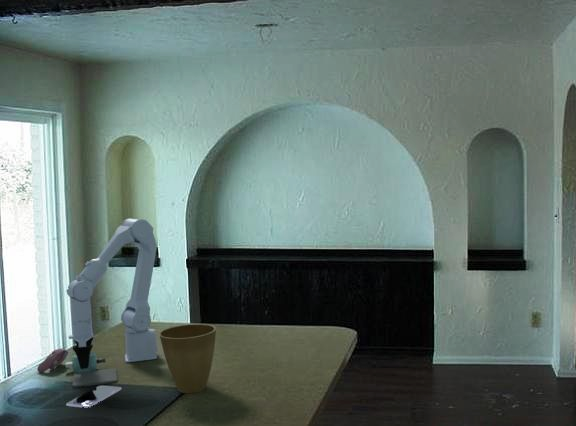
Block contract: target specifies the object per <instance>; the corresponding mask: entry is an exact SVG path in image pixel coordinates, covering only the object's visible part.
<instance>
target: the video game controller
mask: <svg viewBox="0 0 576 426" xmlns="http://www.w3.org/2000/svg"><path fill="white" fill-rule="evenodd" d="M68 355H69V351H68V350H67V349H64V348H62V347H61V348H58V349H54V350H52V351H51V353H49V355H47V356H46V358H45V359H44V360H43V361H42V362H41V363H40V364H39V365H38V366H37V368H36V369H37V372H38V373H40V374H42V373H45V372H46V371H48V370H51V371H54V370H55V369H56V367H58V368H60V366H61V365H63V364H62V363H63V362H64V361H65V360H66V359H67V357H68Z"/></svg>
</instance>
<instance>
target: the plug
mask: <svg viewBox="0 0 576 426" xmlns="http://www.w3.org/2000/svg"><path fill="white" fill-rule="evenodd" d="M97 357H98V356H97V353H95V352H90V357H89V366H88V368H86V369H81V368H80V365H79V361H78V358H77V355H76V354H74V355H72V356H71V360H72V361H66V362H65V368H67V369H68V368H72V372H73V374H74V373H79V372H88V371H96V370H98V364H102V363H106V358H97Z"/></svg>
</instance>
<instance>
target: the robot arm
mask: <svg viewBox="0 0 576 426" xmlns="http://www.w3.org/2000/svg"><path fill="white" fill-rule="evenodd" d="M131 243H133V244H134V245H135V246H136V247H137V249H138V255H137V261H136V265H135V272H134V276H133V283H132V288H131V295H130V298H129V299H128V301H127V302H126V304H125V308H124V310H123V312H122V313H121V317H120V320H121V322H122V324H123V325H124V326H125V328H124V334H125V351H126V352H125V353H126V354H125V355H124V359H125V363H132V362H133V363H134V362H142V361H150V360H157V358H158V356H157V355H158V354H157V353H158V345H157V342H156V341H157V340H156V339H157V338H156V337H157V336H156V330H155V328H150V326H151V323H152V318H151V307H150V304H149V302H148V300H149V295H150V290H151V283H152V278H153V277H152V276H153V274H154V273H153V272H154V267H155V266H154V265H155V259H156V254H157V248H158V245H157V240H156V238H155V234H154V227H153V226H152V225H151V224H150V222H149V221H147V220H146V219H141V218H140V219H139V218H138V219H136V218H133V217H132V218H131V217H130V218H126V219H124V220H123V222H122V223H121V225H119V226H118V227H117V228H116V230H115V232H114V233H113V235H112V236H111V238H110V240H109V241H108V242H107V244H106V245H105V247H104V248H103V249H102V251H101V253H100V254H99V255H98V256H97V258H93V259H91V260H89V261H88V260H87V261H86V263H85V264H84V265H85V267H84V268H83V269H82V271H81V272H80V273H79V275H76V276H75V280H72V281H71V282H70V283H69V284H68V286H67V289H66V294H67V295H68V297H69V298H70V299H69V300H70V315H71V316H70V317H71V327H72V329H71V330H72V334H69V335H68V339H69V340H73V342H74V343H75V344H74V345H72V350H73V351H74V353H75V355H77V358H78V361H79V365H80V368H81V369H86V368H88V366H89V357H90V353H92V352H91V351H92V349H93V346H94V345H93V344H92V343H93V339H94V333H93V320H92V304H91V297H92V296H93V293H94V288H95V287H96V286H97V284H98V283H99V282H100V280H101V279H102V278H103V277H104V275H105V274H106V272H107V271H108V266H107V265H108V263H109V262H111V260H112V259H113V258H114V257H115V255H117V253H118V252H119V251H120V250H121V248H122V247H124V245H128V244H131Z"/></svg>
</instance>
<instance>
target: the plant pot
mask: <svg viewBox="0 0 576 426" xmlns="http://www.w3.org/2000/svg"><path fill="white" fill-rule="evenodd" d="M216 332H217V328H216V327H215V326H214V325H213V324H212V325H211V324H204V323H203V324H202V323H195V324H194V323H193V324H181V325H176V326H172V327H168V328H166V329H163V330H161V331H160V332H159V338H160V342H161V348H162V350H163V355H164V358H165V362H166V364H167V367H168V370H169V372H170V375H171V378H172V379H173V383H174V385H175V387H176V389H177V390H178V392H179V393H183V394H194V393H199V392H201V391H203V390H205V389H206V388H207V384H208V381H209V377H210V374H211V369H212V366H213V365H212V364H213V359H214V354H215V347H216V345H215V344H216V336H217V335H216V334H217V333H216Z"/></svg>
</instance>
